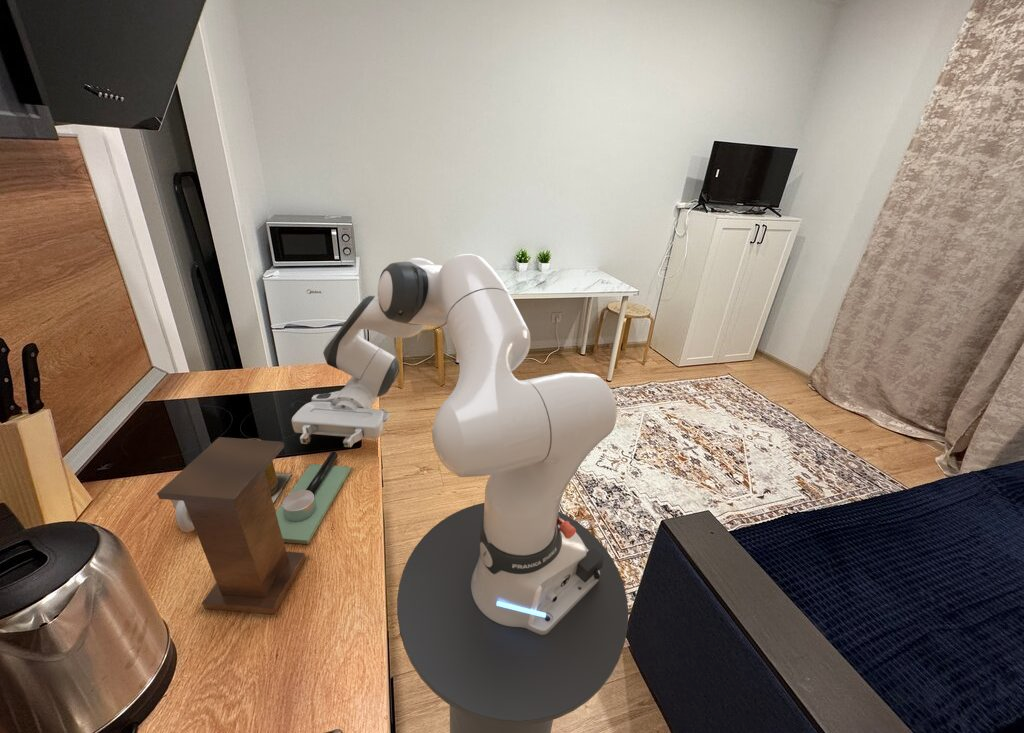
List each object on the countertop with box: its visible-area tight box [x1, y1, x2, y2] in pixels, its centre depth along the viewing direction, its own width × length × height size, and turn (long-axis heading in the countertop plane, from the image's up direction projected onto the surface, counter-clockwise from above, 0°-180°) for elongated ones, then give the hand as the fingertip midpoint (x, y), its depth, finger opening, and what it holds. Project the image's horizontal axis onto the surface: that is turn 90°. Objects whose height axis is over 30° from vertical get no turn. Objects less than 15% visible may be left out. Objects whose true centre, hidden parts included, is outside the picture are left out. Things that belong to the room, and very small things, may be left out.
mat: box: [275, 463, 352, 545], centre depth 84 cm, size 20×9×1 cm, turn 178°
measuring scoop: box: [281, 451, 339, 522], centre depth 87 cm, size 19×6×3 cm, turn 178°
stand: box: [156, 436, 306, 615], centre depth 64 cm, size 12×11×24 cm
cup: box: [170, 500, 195, 533], centre depth 77 cm, size 7×10×9 cm
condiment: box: [249, 437, 292, 504], centre depth 84 cm, size 7×8×12 cm
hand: (325, 443), depth 90 cm, fingers open, 8 cm apart
